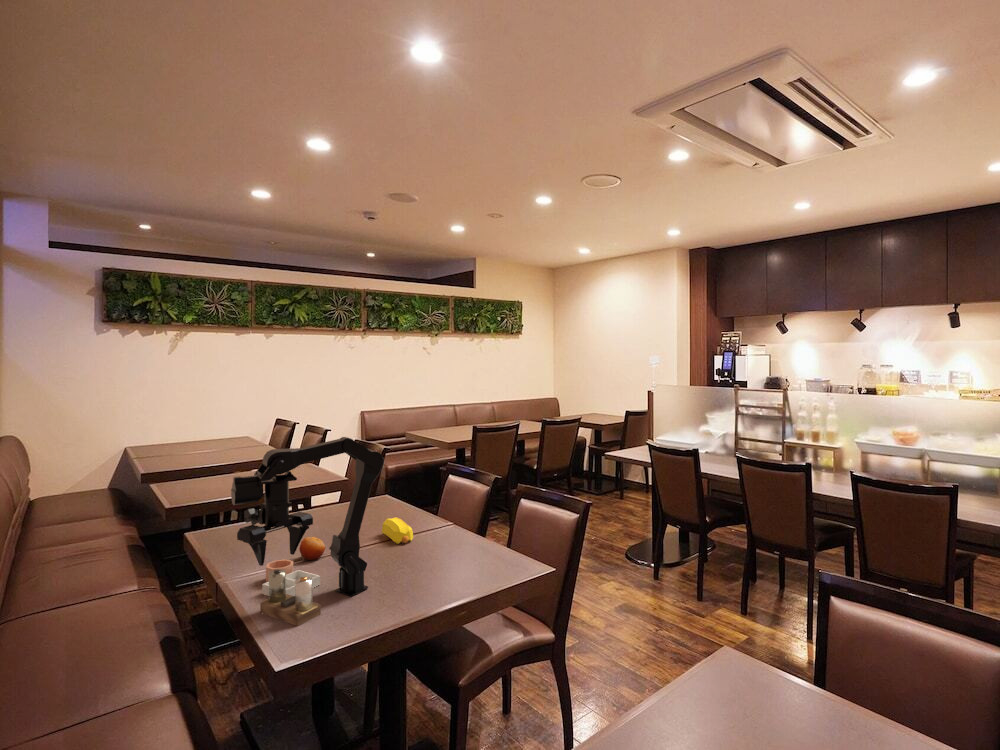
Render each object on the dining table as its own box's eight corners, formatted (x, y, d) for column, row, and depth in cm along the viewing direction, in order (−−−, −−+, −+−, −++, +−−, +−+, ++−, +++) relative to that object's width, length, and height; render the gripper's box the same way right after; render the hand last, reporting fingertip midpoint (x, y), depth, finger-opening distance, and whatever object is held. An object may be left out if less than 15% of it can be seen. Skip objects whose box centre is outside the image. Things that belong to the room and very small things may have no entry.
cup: (298, 578, 157) (298, 562, 157) (277, 586, 151) (277, 570, 151) (282, 573, 161) (282, 558, 161) (261, 581, 155) (261, 565, 155)
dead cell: (289, 598, 138) (288, 569, 138) (275, 604, 134) (275, 574, 134) (278, 595, 140) (278, 566, 140) (265, 600, 136) (265, 571, 136)
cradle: (321, 614, 134) (321, 600, 134) (298, 626, 128) (298, 611, 128) (282, 602, 141) (282, 588, 141) (259, 612, 135) (259, 598, 135)
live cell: (315, 606, 133) (315, 576, 132) (302, 613, 129) (302, 582, 129) (304, 603, 135) (304, 573, 134) (291, 609, 131) (291, 579, 131)
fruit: (293, 552, 176) (306, 530, 177) (315, 562, 178) (327, 540, 179) (293, 560, 168) (306, 537, 169) (315, 570, 170) (329, 547, 172)
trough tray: (320, 585, 152) (319, 575, 152) (284, 601, 142) (284, 590, 142) (298, 579, 156) (298, 569, 156) (262, 594, 146) (262, 584, 146)
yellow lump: (396, 547, 185) (416, 543, 189) (396, 528, 185) (416, 524, 189) (379, 534, 200) (398, 530, 204) (378, 516, 200) (398, 513, 204)
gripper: (287, 488, 149) (287, 544, 149) (223, 503, 133) (223, 565, 133) (314, 493, 143) (314, 551, 143) (251, 509, 127) (251, 574, 127)
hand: (277, 559), depth 137 cm, fingers open, 9 cm apart
